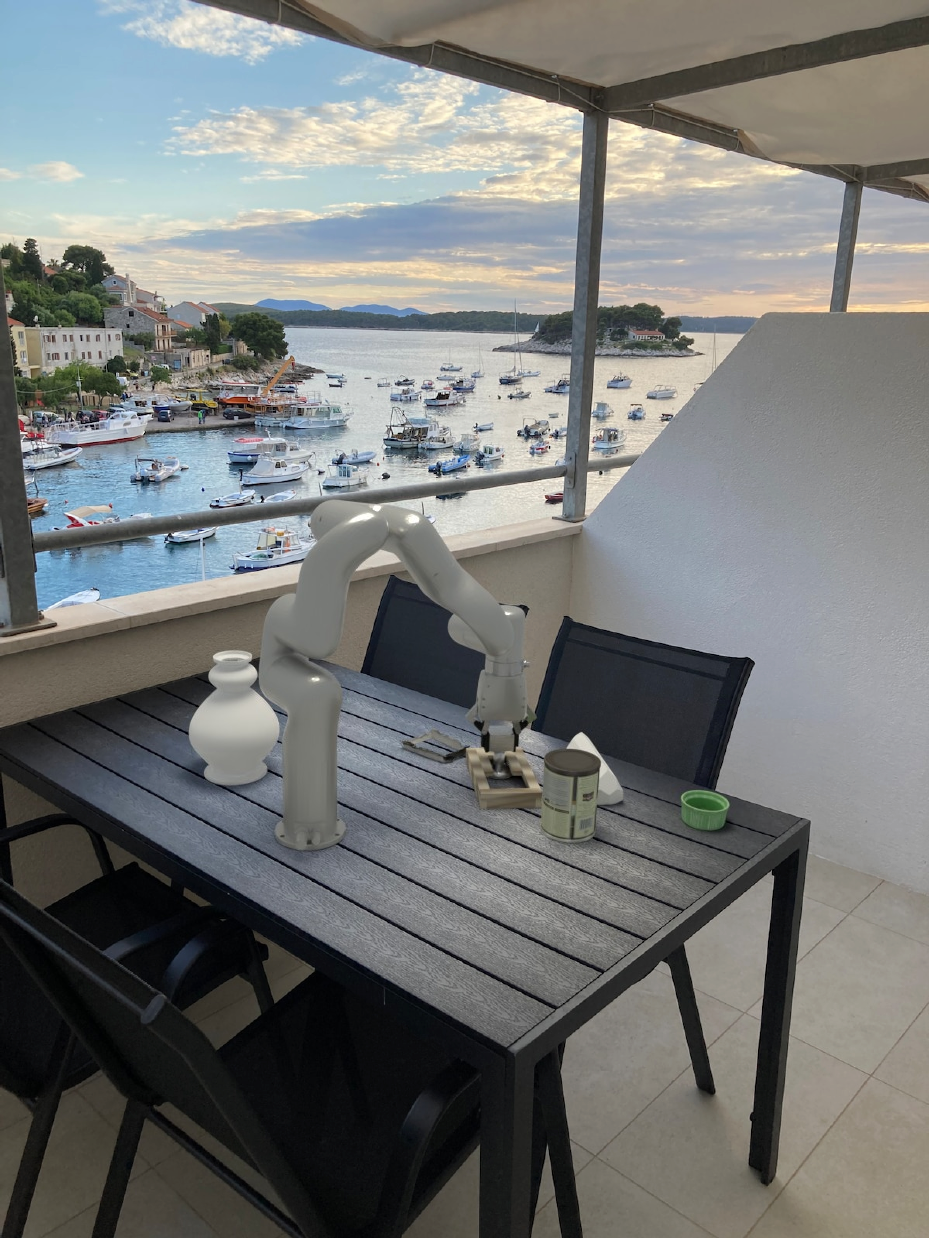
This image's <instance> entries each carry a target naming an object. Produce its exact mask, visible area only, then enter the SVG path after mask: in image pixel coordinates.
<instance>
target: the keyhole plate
mask: <svg viewBox="0 0 929 1238" xmlns="http://www.w3.org/2000/svg"><path fill="white" fill-rule="evenodd" d="M491 763H493V752H488V753H485V750H484V747H469V748H466V756H465V764H466V768H467V771H468V775H469V776H470V777H469V778H470V780H471V784H472V786H473V789H474V793H475V796H476V800H477V803H478V806H479V810H493V809H494V810H495V809H496V810H497V809H499V810H500V809H535V808H541V809H542V797H543V790H542V789H541V787H540V784H539V782H538V779H537V778H536V776H535V773H534V772H533V770H532V768H531V764H530V763H529V761H528V759H527V757H526V754H525V753H524V750H523V748H522V747H521V746H520V747H519V746H518V747H516V752H512V751H505V761H504V764H507V765H508V766H509V768H510V770H511V773H512V776H521V778H522V780H523V782H524V785H525V787H521V788H520V787H518V788H517V787H515V788H491V787H490V786H489V783H488V781H487V776H493V769H492V766H491Z"/></svg>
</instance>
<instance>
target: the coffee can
mask: <svg viewBox="0 0 929 1238" xmlns="http://www.w3.org/2000/svg"><path fill="white" fill-rule="evenodd" d="M543 762H544V764H543V765H544V766H543V781H542V782H543V783H542V807H541V818H540V820H541V821H540V827H539V828H540V831H541V833H542V834H544V836H545V837H547V838H549V839H551V840H553V841H557V842H562V843H567V844H569V843H570V844H578V843H583V842H586V841H590V840H591V839H592V838H593V837H594V836H595V835H596V827H597V826H596V823H597V811H598V810H597V809H598V804H597V799H598V787H599V773H600V767H601V760H600V759H599V758H598V757H597V756H596V755H594V754H592V753H590V752H587V751H583V750H578V749H566V748H559V749H553V750H551V751H548V752H547V753H545V754H544V757H543Z"/></svg>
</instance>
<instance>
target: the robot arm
mask: <svg viewBox="0 0 929 1238" xmlns="http://www.w3.org/2000/svg"><path fill="white" fill-rule="evenodd" d="M309 524H310V525H309V526H310V531H311V533H312V534H311V535H313V537H314V539H315V540H316V541H317V542H316V543H315V544H314V545H313V546H312V547H311V548H310V550H309V551H308V552H307V554H306V556H305V557H304V559H303V561H302V563H301V567H300V570H299V574H298V575H299V576H298V582H297V586H296V590H295V591H296V592H295V593H292V592H291V593H286V594H283V595H282V596H279V597H278V598H277V599H276V600H275V601H274V602H273V603H272V604H271V605H270V607H269V609H268V611H267V613H266V615H265V618H264V623H263V630H262V638H261V646H260V656H259V665H258V685H259V688H260V691H261V692H262V694H263V696H264V697H265V698H266V699H267V700H269V701H270V702H271V703H273V704H274V705H276V706H278V707H279V708H280V709H282V710H283V711H284V712H286V713H287V721H286V724H285V727H284V730H283V734H282V738H281V741H282V742H281V757H282V758H281V759H282V763H281V764H282V811H283V812H282V815H283V816H282V817H283V818H282V819H281V820H280V821H278V823H277V824H276V825H275V827H274V838H275V840H276V841H277V842H278V843H279V844H280V845H282V846H283V847H285V848H289V849H293V850H299V851H316V850H317V851H318V850H322V849H323V850H324V849H326V848H329V847H332V846H335V845H337V844H338V843H339V842H341V841H342V840H343V839H344V838H345V835H346V831H347V828H346V823H345V821H344V820H343V819H341V817H338V729H339V721H340V717H341V712H342V706H343V700H344V699H343V698H344V697H343V696H344V695H343V689H342V685H341V684H340V682H339V680H338V679H337V678H336V677H335V675H334V674H333V673H332V672H330V671H329V670H328V669H326V668H324V667H322V666H320V665H318V664H317V663H315V662H313V661H309V658H310V659H313V660H326V659H329V658H331V657H332V656H333V655H335V654H336V652H337V651H338V650H339V648H340V645H341V642H342V638H343V632H344V624H345V615H346V610H347V609H346V608H347V599H348V593H349V587H350V583H351V580H352V577H353V576H354V574H355V572H356V571H357V570H358V568H360V566H361V565H362V564H363V563H364V562H366V561H367V560H368V559H370V558H371V557H372V556H374V555H375V554H376V553H378V552H379V551H380V550H381V551H384V552H387V553H391V554H393V555H395V556H396V557H397V559H399V561H400V562H401V565H403V567H405V569H406V570H407V572H408V573H409V575H410V576H411V578H412V579H413V580H414V582H415V583H416V585H417V586H418V588H419V589H420V591H421V592H422V593H423V594H424V595H425V596H426V597H428V598H429V599H430V600H431V601H433V602H434V603H435V604H437V605H438V606H440V607H442V608H444V609H445V610H447V611H448V612H451V613H452V615H451V617H450V618H449V619H448V623H447V631H448V634H449V636H450V638H451V639H452V640H453V641H454V642H456V643H457V644H459V645H461V646H464V647H467V648H468V649H471V650H475V651H477V652H480V653H482V654H484V655H485V662H484V663H485V664H484V669H482V670H481V671H480V674H479V677H478V678H479V679H478V684H477V685H478V686H477V691H476V700H475V704H474V705H473V706H472V707H471V708H470V709H469V710H468V712H467V713H466V714H465V718H466V720H467V721H468V722H470V724H472V725H473V726H474V727H475V728H476V729H477V730H479V732H480V748H484V750H485V753H488V752H489V733H488V729H489V726H491V723H492V722H511V725H512V727H511V729H512V731H513V733H514V750H513V751H512V752H516V747H519V746H520V735H521V733H522V731H524V729H526V728H527V727H528V726H529V724H531V723H532V722H534V721H535V720H536V719H537V715H536V713H535V712H534V711H533V710H532V709H533V708H531V707H530V705H529V704H528V692H527V690H528V689H527V680H526V679H527V677H526V673H525V671H524V670H525V669H526V668H530V660H526V659H524V645H525V629H526V628H525V627H526V613H525V611H524V610H523V609H522V608H521V607H518V606H515V605H510V604H500V603H499V602H498V601H497V600H496V599H495V597H494V596H493V595H492V594H491V593H490V592H489V591H488V590H487V589H485V588H484V587H483V586H482V585H481V584H480V583H479V582H478V581H477V580H476V579H475V578H474V577H473V576H472V575H471V574H469V572H467V571H466V570H465V569H464V568H463V567H462V566H461V565H460V563H459V561H458V560H457V559H456V558H455V556H454V554H453V553H452V551H451V550H450V549H449V548H448V546H447V544H446V543H445V541H444V539H443V538H442V536H441V535H440V533H439V532H438V530H437V529H436V528H435V526H434V524H433V523H432V521H430V519H429V518H428V517H427V516H426V515H424V513H421V512H420V511H416V510H413V509H409V508H404V507H399V506H395V505H390V504H380V503H379V504H378V503H370V502H369V503H368V502H359V501H352V500H351V501H350V500H349V501H348V500H343V499H330V500H329V499H328V500H326V501H324V502H321V503H320V504H319V505H318V506H317V507H315V509H314V510H313V511H312V514H311V516H310V521H309ZM476 715H478V718H476V717H475V716H476Z"/></svg>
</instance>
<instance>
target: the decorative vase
mask: <svg viewBox="0 0 929 1238" xmlns="http://www.w3.org/2000/svg"><path fill="white" fill-rule="evenodd" d="M252 659H253V654H252V653H251V652H248V651H245V650H237V649H236V650H235V649H234V650H231V649H230V650H223V651H220V652H216V653H215V654H213V656H212V661H213V663H215V665H214V666H213V667H212V668H211V669H210V671H209V672H208V680H209V682H210V684H212V685H213V686H214V687H215V688H216V689H214V691H213V692H211V693H210V695H208V696H207V697H206V699H204V701H203V702H202V703H201V704H200V706H199V707H198V708H197V710H196V711H195V712H194V714H193V716H192V718H191V720H190V723H189V727H188V728H189V729H188V738H189V743H190V744H191V746H192V749H194V751H195V752H196V754H198V756H200V757H201V759H203V761H205V763H207V764H208V765H206V767H205V768H204V770H203V776H204V777H205V779H206V780H207V781H209V782H210V783H212V784H216V785H223V786H239V785H240V786H241V785H247V784H250V783H254V782H256V781H258V780H261V779H262V778H264V777H265V775H267V773H268V766H267V764H266V763H265V762H264V759H265V758H266V757H267V756H268V755H269V754H270V752H271V751H272V749H274V747H275V746H276V744H277V742H278V739H279V737H280V723H279V719H278V716H277V713H275V711H274V709H273V708H272V707H271V705H270V704H269V703H268V702H267V701H266V700H265V698H263V697H262V696H261V695H260V694H259V693H258V692H256V691H255V689H253V688H251V687H252V685H253V684H254V683H255V682H256V680H257V679H258V671H257V668H255V667H254V665H252V664H251V663H249V662H252Z"/></svg>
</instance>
